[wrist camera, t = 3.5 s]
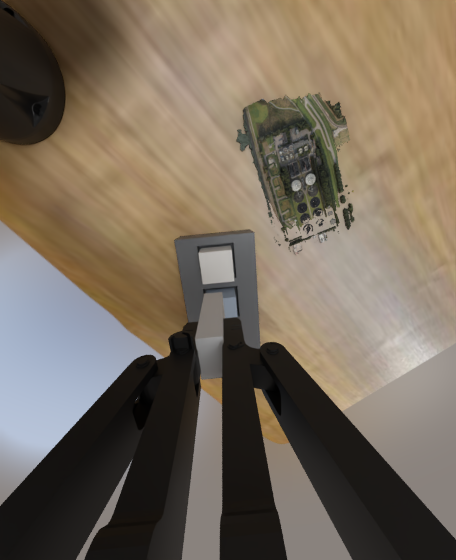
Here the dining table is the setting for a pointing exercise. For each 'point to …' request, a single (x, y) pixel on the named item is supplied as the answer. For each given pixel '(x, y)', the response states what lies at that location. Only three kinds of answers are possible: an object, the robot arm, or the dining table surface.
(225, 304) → the blue key
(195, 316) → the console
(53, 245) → the dining table surface
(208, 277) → the white key
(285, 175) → the treatment plant
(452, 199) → the dining table surface
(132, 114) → the dining table surface
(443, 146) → the dining table surface
